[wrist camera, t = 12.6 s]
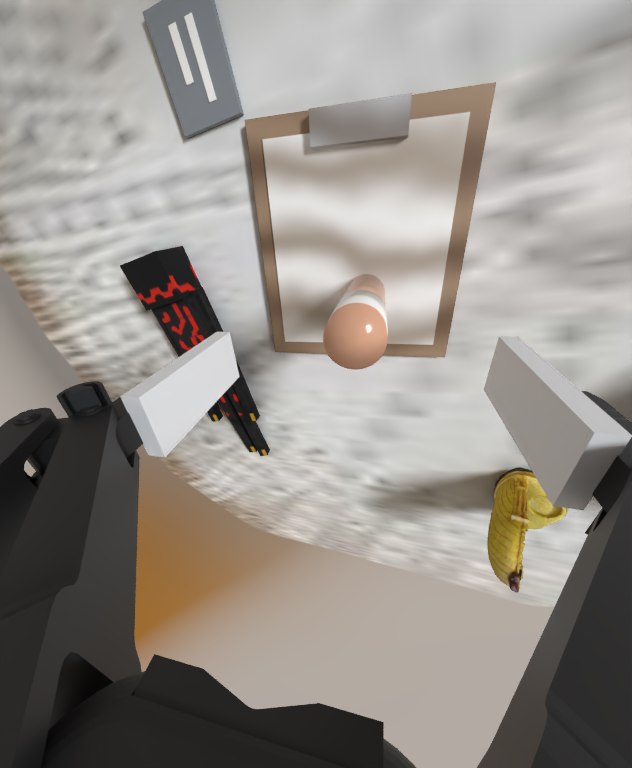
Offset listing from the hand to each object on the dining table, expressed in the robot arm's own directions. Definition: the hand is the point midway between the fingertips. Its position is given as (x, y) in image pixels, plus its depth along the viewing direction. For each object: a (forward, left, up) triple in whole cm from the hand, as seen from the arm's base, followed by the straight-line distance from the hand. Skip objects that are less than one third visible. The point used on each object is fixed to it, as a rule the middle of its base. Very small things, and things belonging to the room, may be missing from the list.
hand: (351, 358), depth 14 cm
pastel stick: (0, 0, -18) cm, 18 cm away
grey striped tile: (-19, -15, -19) cm, 30 cm away
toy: (+10, -20, -19) cm, 30 cm away
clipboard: (-4, -1, -19) cm, 19 cm away
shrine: (+26, +20, -19) cm, 38 cm away
